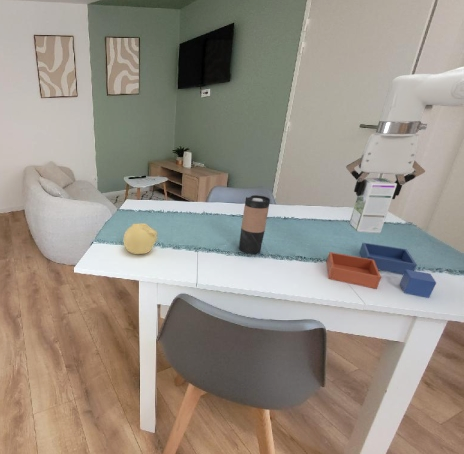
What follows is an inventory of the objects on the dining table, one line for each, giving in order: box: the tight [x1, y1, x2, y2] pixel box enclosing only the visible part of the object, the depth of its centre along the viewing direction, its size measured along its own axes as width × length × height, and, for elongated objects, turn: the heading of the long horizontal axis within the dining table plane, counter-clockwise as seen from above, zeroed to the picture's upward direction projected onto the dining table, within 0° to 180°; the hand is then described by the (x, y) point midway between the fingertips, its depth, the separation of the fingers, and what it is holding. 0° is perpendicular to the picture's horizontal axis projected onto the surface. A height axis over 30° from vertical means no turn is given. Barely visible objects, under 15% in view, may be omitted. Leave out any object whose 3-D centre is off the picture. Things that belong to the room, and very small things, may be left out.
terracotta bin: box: [326, 251, 382, 290], centre depth 89 cm, size 11×11×4 cm
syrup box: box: [348, 177, 397, 234], centre depth 82 cm, size 6×6×14 cm
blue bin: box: [358, 242, 417, 275], centre depth 94 cm, size 11×11×4 cm
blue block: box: [399, 270, 437, 299], centre depth 81 cm, size 5×5×5 cm
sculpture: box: [123, 222, 158, 255], centre depth 109 cm, size 11×12×11 cm
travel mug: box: [238, 194, 271, 255], centre depth 104 cm, size 8×8×20 cm
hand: (374, 195), depth 81 cm, fingers closed on syrup box, 6 cm apart
